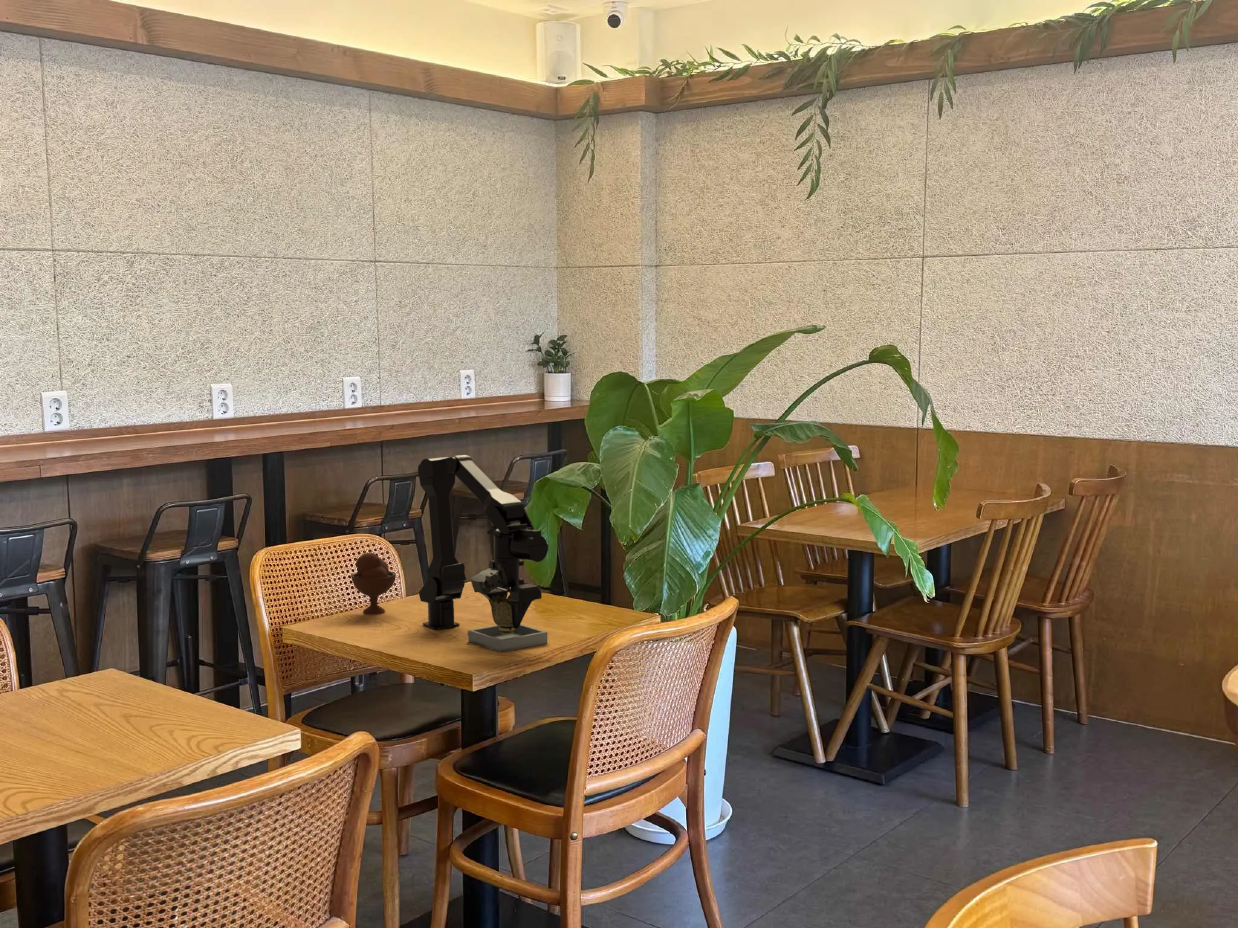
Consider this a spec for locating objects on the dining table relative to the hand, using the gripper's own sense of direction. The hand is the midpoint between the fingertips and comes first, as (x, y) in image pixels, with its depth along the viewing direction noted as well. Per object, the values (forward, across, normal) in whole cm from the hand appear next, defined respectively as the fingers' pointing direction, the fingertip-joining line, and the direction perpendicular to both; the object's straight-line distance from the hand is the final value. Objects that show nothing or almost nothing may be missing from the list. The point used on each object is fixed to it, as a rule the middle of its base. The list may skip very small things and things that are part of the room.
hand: (507, 625), depth 273 cm
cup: (+2, 0, 0) cm, 2 cm away
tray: (+4, 0, 0) cm, 4 cm away
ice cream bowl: (+4, -46, -8) cm, 47 cm away
